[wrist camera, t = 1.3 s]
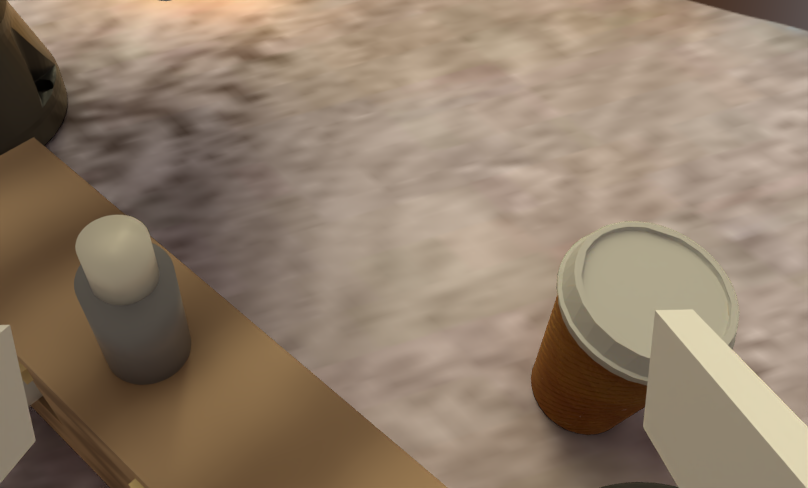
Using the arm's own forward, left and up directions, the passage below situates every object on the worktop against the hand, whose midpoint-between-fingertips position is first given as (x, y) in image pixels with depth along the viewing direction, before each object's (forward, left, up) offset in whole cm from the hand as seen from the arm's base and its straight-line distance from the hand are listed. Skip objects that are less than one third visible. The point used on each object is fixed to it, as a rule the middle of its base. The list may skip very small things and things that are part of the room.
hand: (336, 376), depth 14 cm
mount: (-10, +1, -27) cm, 28 cm away
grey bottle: (-10, +1, -12) cm, 16 cm away
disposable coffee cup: (+5, +20, -27) cm, 34 cm away
